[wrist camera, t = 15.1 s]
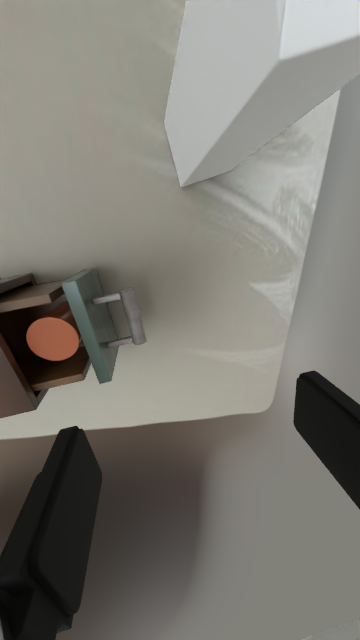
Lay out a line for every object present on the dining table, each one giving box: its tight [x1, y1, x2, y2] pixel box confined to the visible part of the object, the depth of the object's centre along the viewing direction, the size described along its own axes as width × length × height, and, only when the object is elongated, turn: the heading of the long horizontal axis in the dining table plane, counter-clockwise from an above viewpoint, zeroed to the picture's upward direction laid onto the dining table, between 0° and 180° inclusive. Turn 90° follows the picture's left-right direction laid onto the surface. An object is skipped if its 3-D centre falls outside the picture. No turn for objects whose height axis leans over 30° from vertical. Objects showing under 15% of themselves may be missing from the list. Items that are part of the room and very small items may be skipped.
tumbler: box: [26, 301, 83, 361], centre depth 23 cm, size 5×5×6 cm
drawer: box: [0, 268, 146, 392], centre depth 23 cm, size 17×10×8 cm, turn 99°
